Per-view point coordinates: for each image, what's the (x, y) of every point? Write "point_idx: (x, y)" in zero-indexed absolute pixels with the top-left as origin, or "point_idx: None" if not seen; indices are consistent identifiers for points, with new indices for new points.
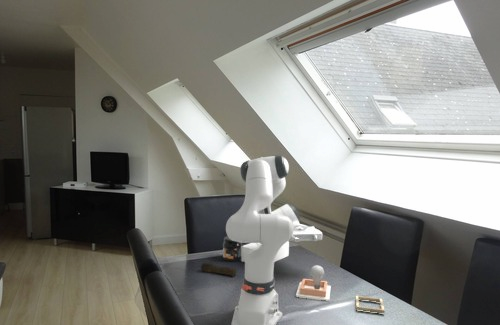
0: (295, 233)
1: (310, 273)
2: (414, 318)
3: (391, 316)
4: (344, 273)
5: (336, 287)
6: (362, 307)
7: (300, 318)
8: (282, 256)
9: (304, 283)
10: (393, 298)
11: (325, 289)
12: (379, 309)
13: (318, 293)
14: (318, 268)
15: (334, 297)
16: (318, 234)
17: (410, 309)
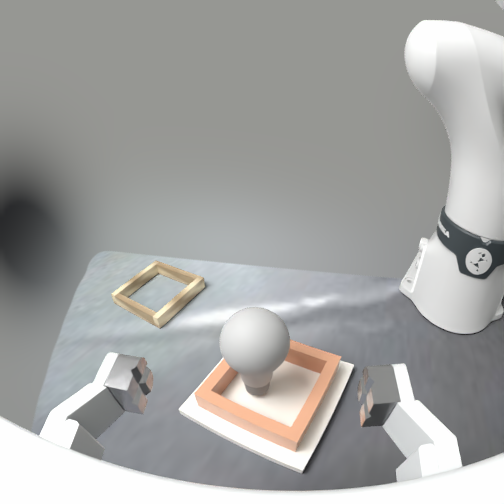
0: (388, 500)
1: (289, 347)
2: (118, 256)
3: (149, 264)
4: None
5: (155, 411)
6: (191, 274)
7: (357, 280)
8: None
9: (306, 401)
10: (70, 312)
11: None
12: (162, 264)
13: None
14: (257, 307)
15: (214, 351)
16: (16, 425)
17: (90, 275)
